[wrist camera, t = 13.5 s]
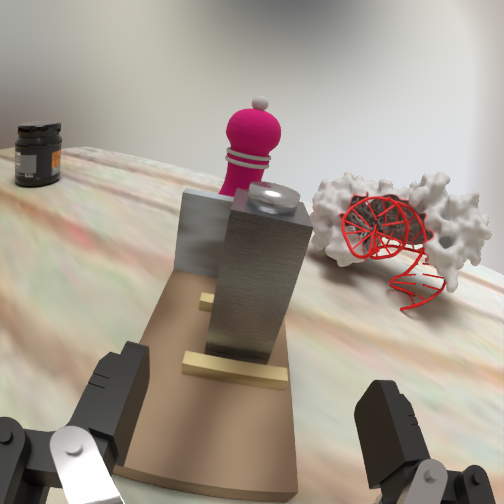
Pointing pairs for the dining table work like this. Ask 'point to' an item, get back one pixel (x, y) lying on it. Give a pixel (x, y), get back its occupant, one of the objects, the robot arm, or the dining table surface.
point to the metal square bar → (257, 271)
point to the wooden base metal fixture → (210, 385)
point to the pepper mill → (249, 146)
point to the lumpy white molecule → (400, 224)
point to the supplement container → (38, 153)
